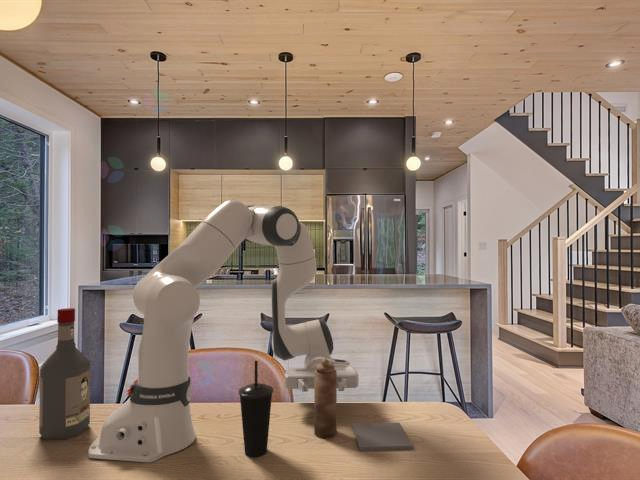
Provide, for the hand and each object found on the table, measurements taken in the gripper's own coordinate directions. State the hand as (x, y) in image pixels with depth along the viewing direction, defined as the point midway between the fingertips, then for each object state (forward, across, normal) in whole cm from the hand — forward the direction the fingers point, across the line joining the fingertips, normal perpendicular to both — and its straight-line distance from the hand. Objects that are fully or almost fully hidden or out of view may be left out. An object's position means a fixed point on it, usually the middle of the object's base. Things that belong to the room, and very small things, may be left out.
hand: (323, 388), depth 104 cm
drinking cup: (+14, -16, +9) cm, 23 cm away
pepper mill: (+6, 0, +9) cm, 11 cm away
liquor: (+1, -64, +9) cm, 64 cm away
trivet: (+9, +13, +9) cm, 18 cm away
